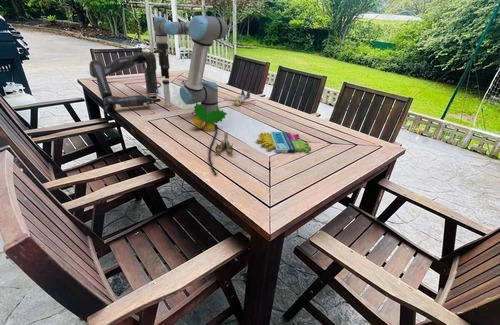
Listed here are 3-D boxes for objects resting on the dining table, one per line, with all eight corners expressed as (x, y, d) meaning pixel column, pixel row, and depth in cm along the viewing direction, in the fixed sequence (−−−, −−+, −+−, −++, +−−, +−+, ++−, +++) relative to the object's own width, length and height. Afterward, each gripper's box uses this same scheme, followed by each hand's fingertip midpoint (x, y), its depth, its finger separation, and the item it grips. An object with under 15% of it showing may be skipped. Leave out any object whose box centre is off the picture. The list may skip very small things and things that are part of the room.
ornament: (218, 133, 171) (224, 110, 169) (221, 134, 163) (227, 111, 161) (186, 125, 162) (192, 101, 160) (189, 126, 155) (195, 101, 153)
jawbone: (234, 135, 144) (233, 125, 135) (233, 160, 138) (232, 151, 129) (217, 135, 144) (216, 125, 135) (216, 160, 138) (214, 150, 129)
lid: (169, 82, 194) (169, 80, 193) (168, 84, 190) (168, 81, 189) (163, 82, 193) (162, 79, 192) (162, 84, 189) (161, 81, 188)
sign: (313, 150, 142) (258, 149, 139) (312, 153, 143) (258, 152, 140) (301, 132, 164) (254, 130, 161) (301, 134, 165) (254, 133, 162)
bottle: (171, 104, 201) (169, 80, 192) (170, 106, 198) (168, 81, 189) (165, 104, 201) (163, 80, 192) (164, 106, 197) (162, 81, 188)
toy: (261, 91, 228) (254, 99, 202) (261, 99, 231) (253, 108, 205) (231, 87, 233) (220, 95, 207) (230, 95, 236) (219, 104, 210)
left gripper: (137, 98, 178) (161, 95, 186) (132, 93, 188) (154, 91, 196) (139, 109, 181) (162, 106, 190) (133, 103, 191) (156, 101, 200)
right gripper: (172, 44, 173) (175, 80, 184) (162, 41, 187) (165, 74, 198) (161, 44, 169) (165, 80, 180) (152, 41, 183) (155, 75, 194)
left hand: (158, 98), depth 193 cm, fingers open, 8 cm apart
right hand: (165, 77), depth 189 cm, fingers open, 7 cm apart
